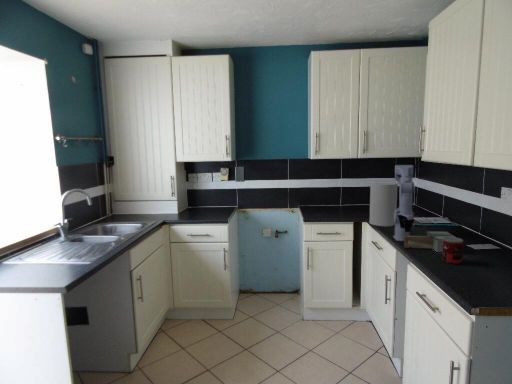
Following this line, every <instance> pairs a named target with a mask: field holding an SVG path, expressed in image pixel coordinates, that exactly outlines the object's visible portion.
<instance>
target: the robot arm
mask: <svg viewBox="0 0 512 384" xmlns="http://www.w3.org/2000/svg"><path fill="white" fill-rule="evenodd" d="M414 169H415V168H414V165H413V164H396V165H395V166H394V179H395V181H397V182H398V185H399V187H398V189H399V195H398V196H399V199H398V200H399V206H398V208H397V209H396V210H395V211H394V223H396V225H394V235H392V237H393V238H394V240H395V241H397V242H404V236H411V235H410V233H411V229H412V225H413V224H414V222H415V221H416V220H415V219H414V215H415V213H414V212H413V199H414V198H413V196H414V191H415V183H414V182H413V181H412V180H413V178H414Z"/></svg>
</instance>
